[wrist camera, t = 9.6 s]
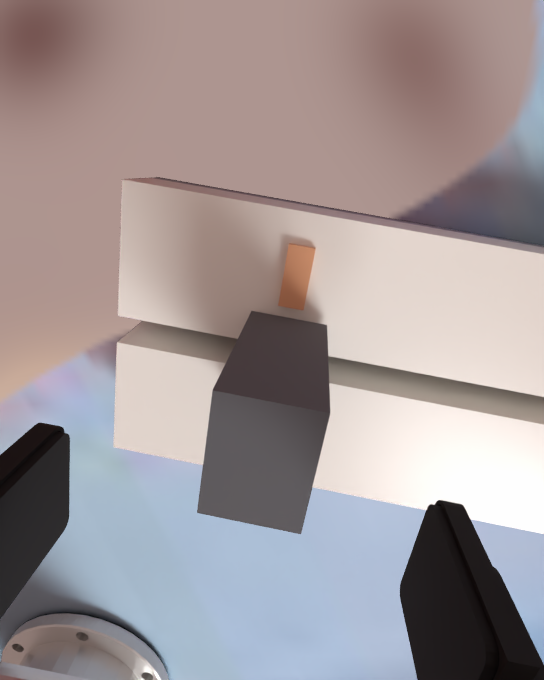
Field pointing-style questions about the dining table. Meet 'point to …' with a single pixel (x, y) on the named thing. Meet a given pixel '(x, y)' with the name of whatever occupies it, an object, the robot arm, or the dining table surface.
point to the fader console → (342, 341)
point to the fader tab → (267, 424)
